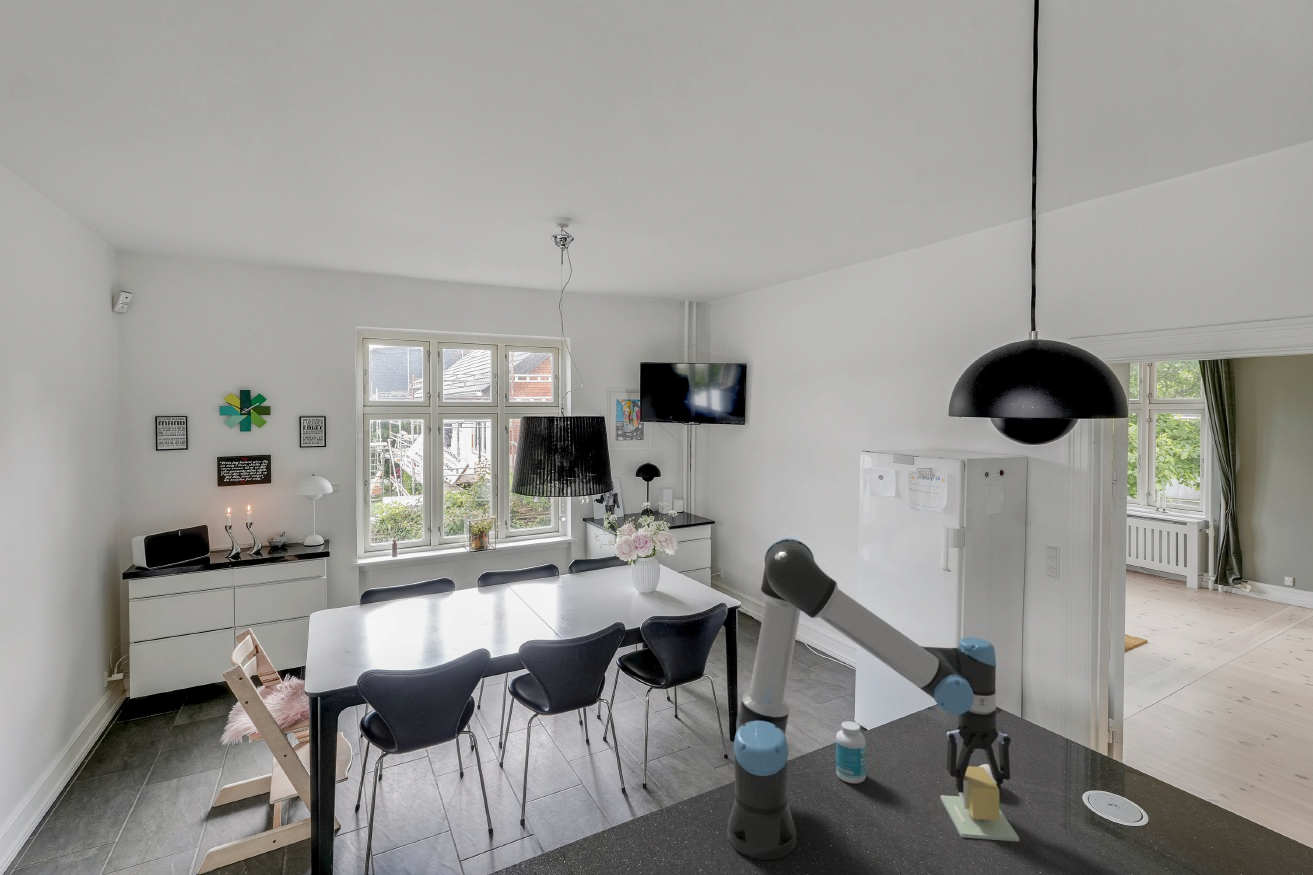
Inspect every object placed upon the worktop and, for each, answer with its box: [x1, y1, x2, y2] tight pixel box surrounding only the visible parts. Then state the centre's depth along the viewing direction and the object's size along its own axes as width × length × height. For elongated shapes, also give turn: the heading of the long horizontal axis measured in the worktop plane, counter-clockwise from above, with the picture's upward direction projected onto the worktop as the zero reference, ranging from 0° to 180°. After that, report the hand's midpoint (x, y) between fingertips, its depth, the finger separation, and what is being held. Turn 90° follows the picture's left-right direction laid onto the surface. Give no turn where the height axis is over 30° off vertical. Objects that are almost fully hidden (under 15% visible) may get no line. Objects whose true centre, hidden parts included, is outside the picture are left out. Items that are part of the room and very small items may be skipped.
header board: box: [940, 794, 1020, 842], centre depth 140 cm, size 12×14×5 cm
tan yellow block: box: [958, 765, 1000, 820], centre depth 140 cm, size 6×9×7 cm, turn 172°
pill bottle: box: [835, 720, 867, 784], centre depth 157 cm, size 8×7×14 cm
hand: (978, 805), depth 140 cm, fingers closed on tan yellow block, 6 cm apart
